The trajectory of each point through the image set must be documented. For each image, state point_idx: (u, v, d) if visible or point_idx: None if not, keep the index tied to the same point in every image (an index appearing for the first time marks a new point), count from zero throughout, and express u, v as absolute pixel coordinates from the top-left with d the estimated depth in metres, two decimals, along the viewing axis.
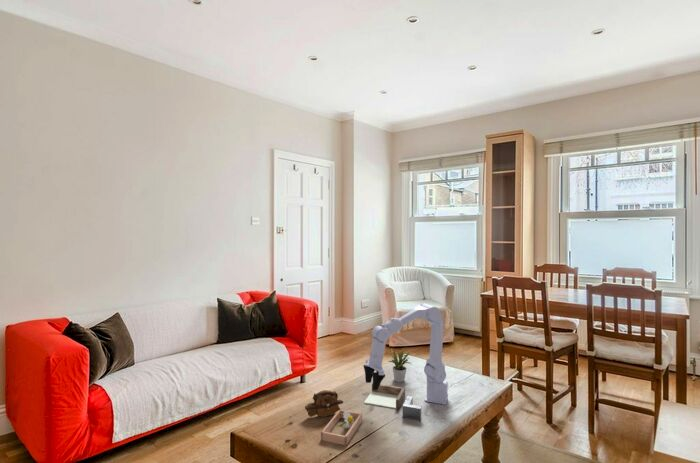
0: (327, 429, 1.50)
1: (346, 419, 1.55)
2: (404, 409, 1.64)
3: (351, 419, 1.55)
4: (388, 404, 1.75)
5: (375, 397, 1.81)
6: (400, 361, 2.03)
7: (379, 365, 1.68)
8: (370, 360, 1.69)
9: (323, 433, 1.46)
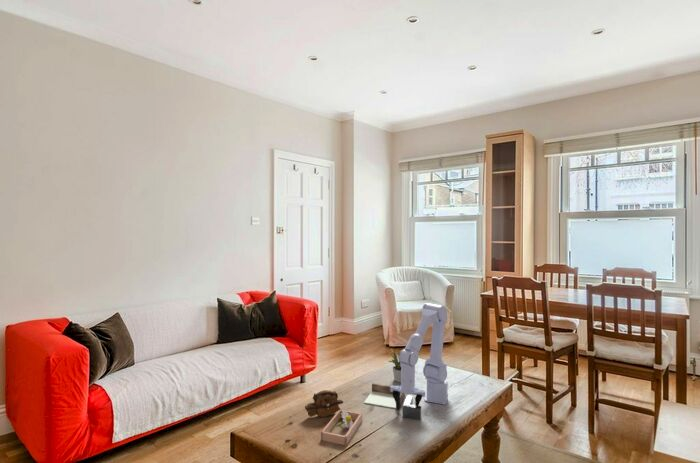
0: (327, 429, 1.50)
1: (344, 419, 1.55)
2: (404, 409, 1.63)
3: (349, 419, 1.55)
4: (388, 404, 1.75)
5: (375, 397, 1.81)
6: None
7: None
8: (407, 387, 1.64)
9: (323, 433, 1.46)
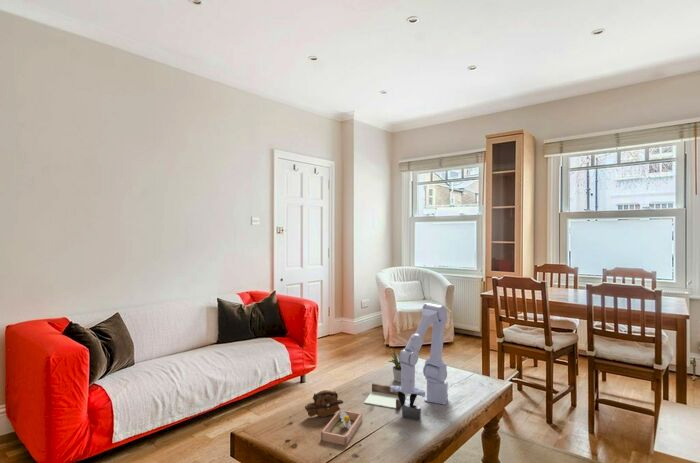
0: (327, 429, 1.50)
1: (343, 419, 1.55)
2: (404, 409, 1.63)
3: (348, 418, 1.55)
4: (388, 404, 1.75)
5: (375, 397, 1.81)
6: None
7: None
8: (407, 387, 1.64)
9: (323, 433, 1.46)
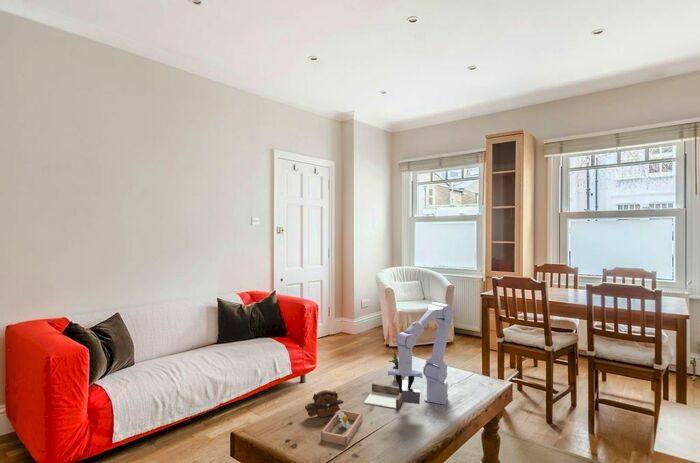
0: (327, 429, 1.50)
1: (341, 418, 1.55)
2: (403, 394, 1.64)
3: (346, 418, 1.56)
4: (388, 404, 1.75)
5: (375, 397, 1.81)
6: None
7: None
8: (406, 369, 1.65)
9: (323, 433, 1.46)
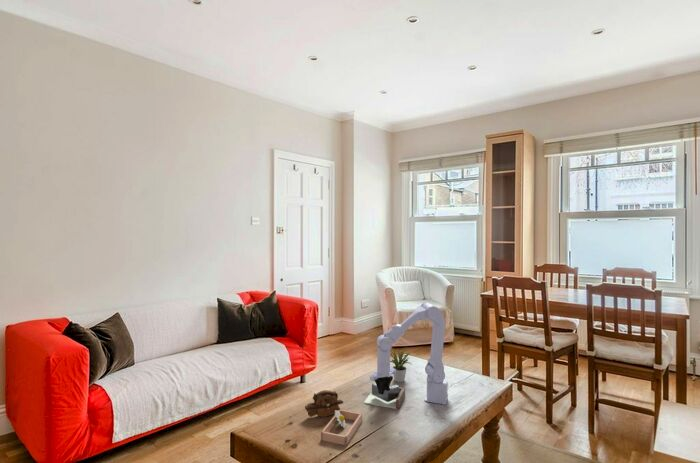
0: (327, 429, 1.50)
1: (338, 418, 1.55)
2: (389, 393, 1.73)
3: (343, 418, 1.56)
4: (388, 404, 1.75)
5: (375, 397, 1.81)
6: (400, 361, 2.03)
7: None
8: (388, 370, 1.75)
9: (323, 433, 1.46)
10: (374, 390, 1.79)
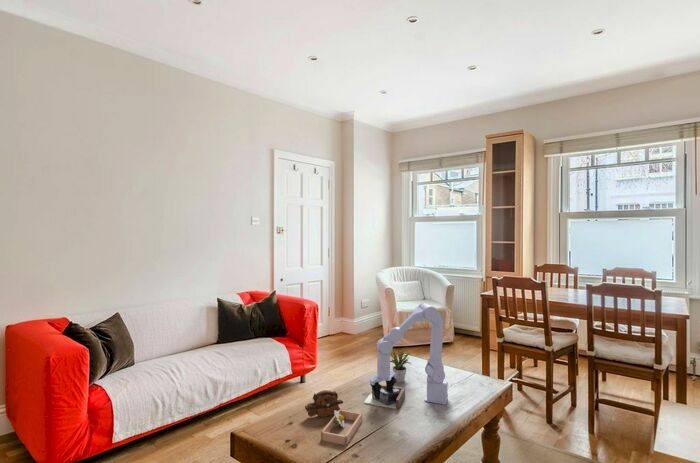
0: (327, 429, 1.50)
1: (338, 418, 1.55)
2: (389, 397, 1.74)
3: (342, 417, 1.56)
4: None
5: None
6: (400, 361, 2.03)
7: None
8: (388, 373, 1.75)
9: (323, 433, 1.46)
10: None
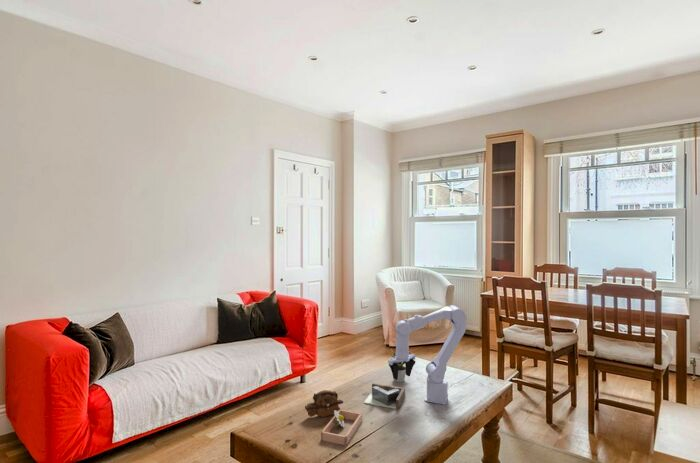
0: (327, 429, 1.50)
1: (338, 418, 1.55)
2: (389, 397, 1.74)
3: (342, 417, 1.56)
4: None
5: None
6: None
7: None
8: (407, 354, 1.78)
9: (323, 433, 1.46)
10: (374, 394, 1.79)
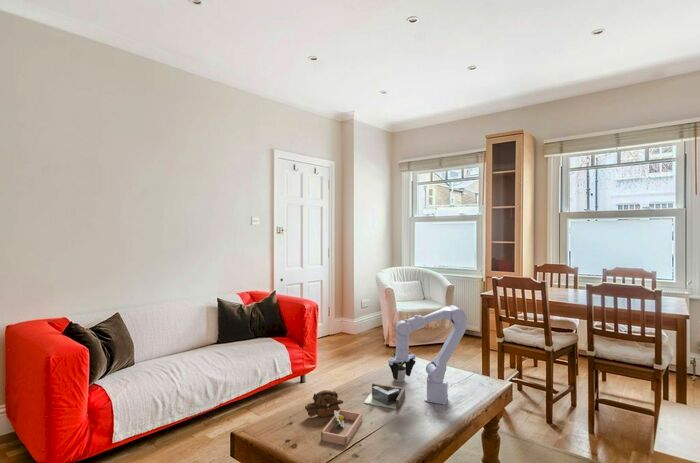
0: (327, 429, 1.50)
1: (337, 418, 1.55)
2: (389, 397, 1.74)
3: (342, 418, 1.56)
4: None
5: None
6: None
7: None
8: (407, 354, 1.78)
9: (323, 433, 1.46)
10: (374, 394, 1.79)
